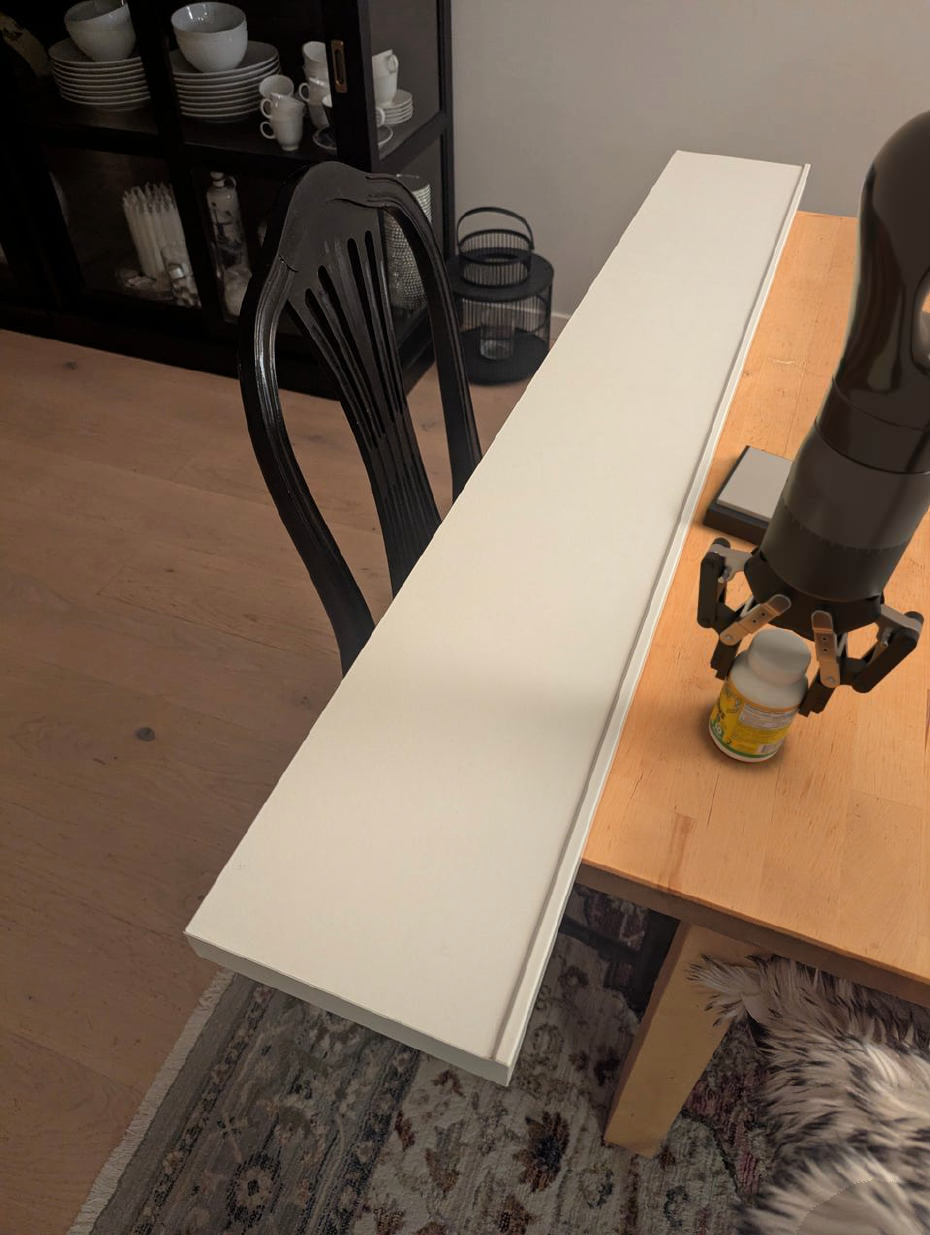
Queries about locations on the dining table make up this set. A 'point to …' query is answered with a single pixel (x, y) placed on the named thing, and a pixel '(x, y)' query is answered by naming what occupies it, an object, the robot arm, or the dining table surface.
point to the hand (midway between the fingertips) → (764, 688)
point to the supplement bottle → (761, 696)
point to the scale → (749, 495)
